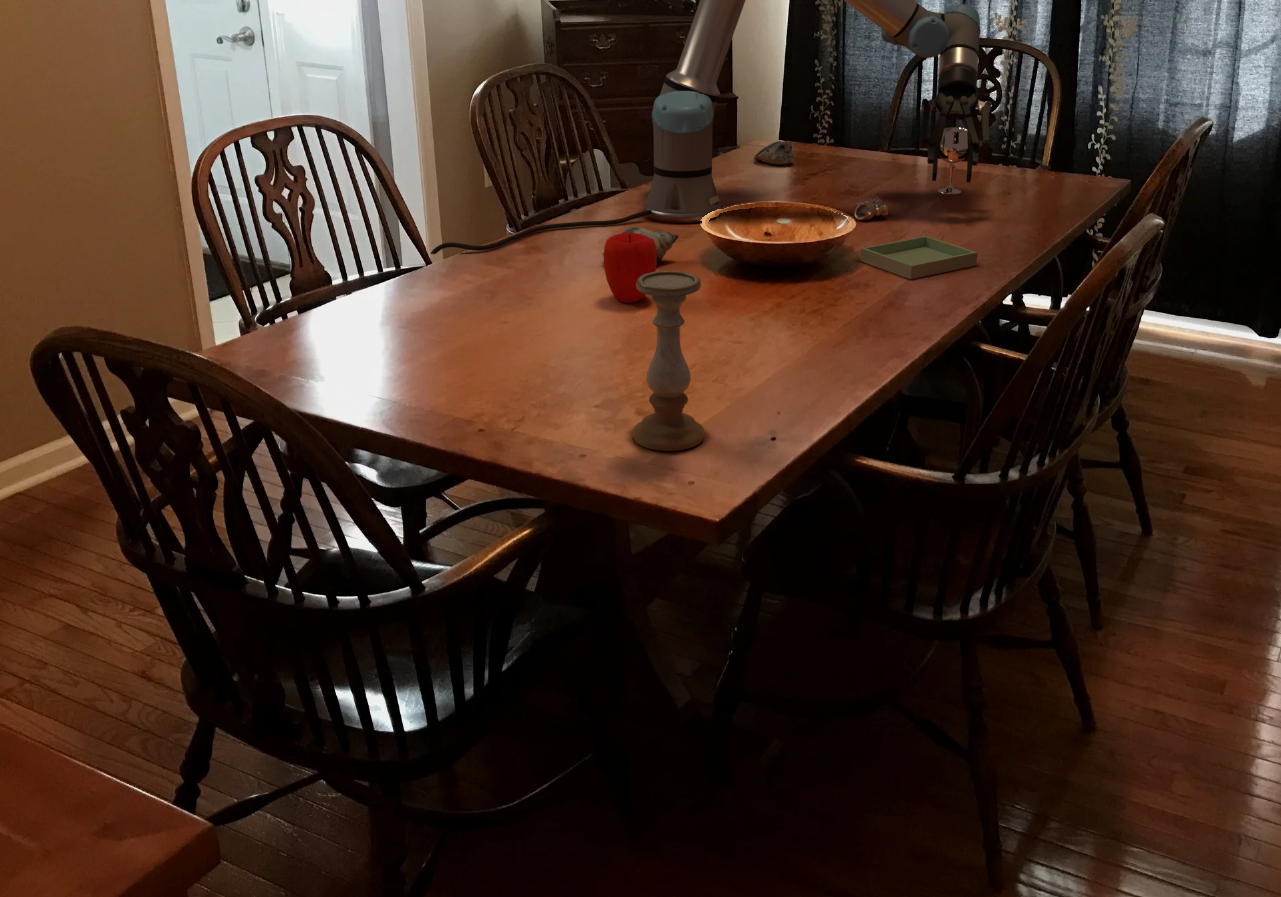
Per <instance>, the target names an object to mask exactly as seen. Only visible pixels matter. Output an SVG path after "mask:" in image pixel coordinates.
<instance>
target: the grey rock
mask: <svg viewBox="0 0 1281 897" xmlns="http://www.w3.org/2000/svg"><path fill="white" fill-rule="evenodd" d="M753 159H754V160H753V161H755V162H759V161H761V162H764V163H766V164H768V165H769V164H770V165H773V166H782V165H788V164H790V163H793V161H794V160H795V154H794V150H793V145H792V141H790V140H785V141H781V140H779V141H775V142H774V141H773V142H772V143H770V144H767V145H766V146H765V147H763V148H761V149H760V150H759V151H758V152H757V153H756V154H755V155H754V157H753Z"/></svg>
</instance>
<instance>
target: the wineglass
mask: <svg viewBox="0 0 1281 897" xmlns="http://www.w3.org/2000/svg"><path fill="white" fill-rule="evenodd" d="M938 141H939V142H938V144H939V151H938V156H939V157H940V158H941V159H942V160H943V161H945V162H946V163H949V164H950V165H949V167H948V172H949V179H948V180H949V181H948V184H947V186H946V187H944V188H938V190H937V192H938V193H941V194H944V195H959V194H961V193H962V190H960V189H958V188H954V186H953V185H952V184H953V183H952V182H953V174H954V171H955V164H956V163H960V162H962V161H963V160H965V159H966V158H967V157H968V151H969V145H970V143H969V135H968V130H967V129H965V127H956V126H954V127H944V128H943V131H942V133H941V135H940V137H939V140H938Z"/></svg>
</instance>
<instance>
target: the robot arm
mask: <svg viewBox="0 0 1281 897" xmlns="http://www.w3.org/2000/svg"><path fill="white" fill-rule="evenodd" d="M843 1H844V2H845V3H846V4H848V5H849V6H851V7H852V8H853V9H855V10H856V11H857V12H859V13H860V14H861V15H862V16H864V17H865V18H867V20H870V21H871V22H872V23H873V24H875V25H876V26H877V27H878V28H880V29H881V33H880V34H881V40H882V41H883V42H884V43H888V44H892V45H894V46H901V47H905V48H906V49H907V50H909V51H910V52H912V53H913V54H914V55H915V56H916V57H919V58H926V59H931V58H935V57H938V56H939V65H938V79H937V80H938V81H937V94H936V96H934V99H930V100H928V98H922V100H921V104H920V105H921V106H920V110H921V114H922V120H921V127H920V135H919V142H918V147H919V148H920V149H923V148H925V149H927V162H926V163H927V164H928V165H932V175H931V181H932V182H936V181H937V177H938V176H937V175H938V165H939V142H938V141H940V138H941V135H942V131H943V129H944V128H945V126H946V124H947V122H948V121H951V120H958V121H961V122H962V125H963V126H964V128H965V129H967V130H968V135H969V151H968V154H967V160H966V161H967V164H966V183H971V181H972V174H973V166H974V167H975V166H978V164H979V159H980V158H979V157H980V151H987V150H988V148H989V144H990V112H991V109H992V104H993V102H992V101H991V100H985V101H981V100H980V99H979V97H978V96H977V95H978V94H977V90H978V89H977V88H978V72H979V71H978V70H979V49H980V48H979V47H980V37H981V18H980V13H979V12H978V10H977V9H976V8H975V7H974V6H971V5H969V4H965V3H961V4H960V5H957V4H954V5H951V6H949V7H947V8H946V10H945V11H944V12H943V13H942V12H936V11H931V10H927V8H925V7H924V6H922V5H921V4H919V3H918V2H917V1H916V0H843ZM745 3H746V0H699V3H698V5H697V9H696V10H695V11H696V12H695V14H694V17H693V20H692V23H691V26H690V29H689V32H688V35H687V37H686V40H685V43H684V47H683V48H682V52H681V55H680V58H679V61H678V64H677V66H676V69H674V70H672V71H670V72H668V73H667V74H666V76H665V79H664V83H663V85H662V88H661V91H660V93H659V95H658V96H657V97H656V98H655V99H654V102H653V107H652V110H651V111H652V112H651V124H652V127H653V178H652V182H651V185H650V187H649V188H650V189H649V191H648V195H647V197H646V200H645V204H644V210H643V211H640V212H639V211H638V212H637V213H634V214H629V215H627V216H624V217H621V218H617V219H609V220H607V219H606V220H587V221H573V222H560V223H559V222H558V223H549V224H544V225H537V226H535V227H531V228H528V229H525V230H523V231H520V232H518V233H515V234H513V235H510V236H507V237H505V238H502V239H500V240H498V241H496V242H495V241H494V242H492V243H489V244H483V245H472V244H468V243H467V244H466V243H461V242H452V241H451V242H450V241H449V242H443V243H441V244H438V245H437V246H436V247H434V249H432V250H431V251H430V255H436V254H438V253H439V252H440V251H442V250H443V249H447V248H456V249H463V250H467V251H468V250H470V251H477V252H478V251H479V252H481V251H486V250H487V251H488V250H492V249H495V248H499V247H502V246H503V245H505V244H508V243H511V242H513V241H516V240H518V239H521V238H523V237H526V236H528V235H531V234H533V233H537V232H542V231H547V230H553V229H563V228H564V229H565V228H576V227H592V226H593V227H595V226H596V227H597V226H598V227H599V226H611V225H618V224H623V223H627V222H630V221H632V220H635V219H638V218H642V217H647V218H649V219H650V220H654V221H658V222H663V223H669V224H671V223H672V224H693V223H701V222H700V220H701V219H702V217H704V216H705V215H707V214H708V213H710V212H712V211H715V210H717V209H720V208H722V207H721V206H722V204H721V202H720V198H719V195H718V191H717V189H716V185H715V181H714V179H713V124H714V123H713V122H714V121H713V120H714V116H715V114H714V113H715V109H716V106H717V103H718V101H719V98H720V95H721V93H720V90H719V88H718V86H717V82H718V79H719V76H720V73H721V70H722V68H723V64H724V62H725V59H726V56H727V54H728V51H729V48H730V45H731V43H732V39H733V37H734V34H735V32H736V28H737V26H738V22H739V20H740V17H741V14H742V12H743V9H744V7H745ZM934 107H935V109H936V110H938V112H939V114H940V115H939V118H938V120H937V122H936V124H935V127H934V129H933V131H932V133H931V136H930V138H928V136H927V135H928V129H929V122H930V114H931V112H933V110H934ZM976 109H978V114H980V115H981V116H980V140H979V138H978V133H977V131H976V126H975V123H974V119H973V117H972V113H973V112H974V111H975V110H976Z"/></svg>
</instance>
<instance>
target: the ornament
mask: <svg viewBox="0 0 1281 897" xmlns="http://www.w3.org/2000/svg"><path fill="white" fill-rule="evenodd" d="M853 215H854V217H855V219H856V220H857V221H868V220H871V219H872V218H873V217H875V216H876V217H879V216H880V215H881V216H888V215H889V207H888V205H885V204H884V202H883V200H882V199H881V198H880V197H879V196H875V199H873V198H869V199H864V200H860V201H858V202H856V203H855V209H854V214H853Z"/></svg>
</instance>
